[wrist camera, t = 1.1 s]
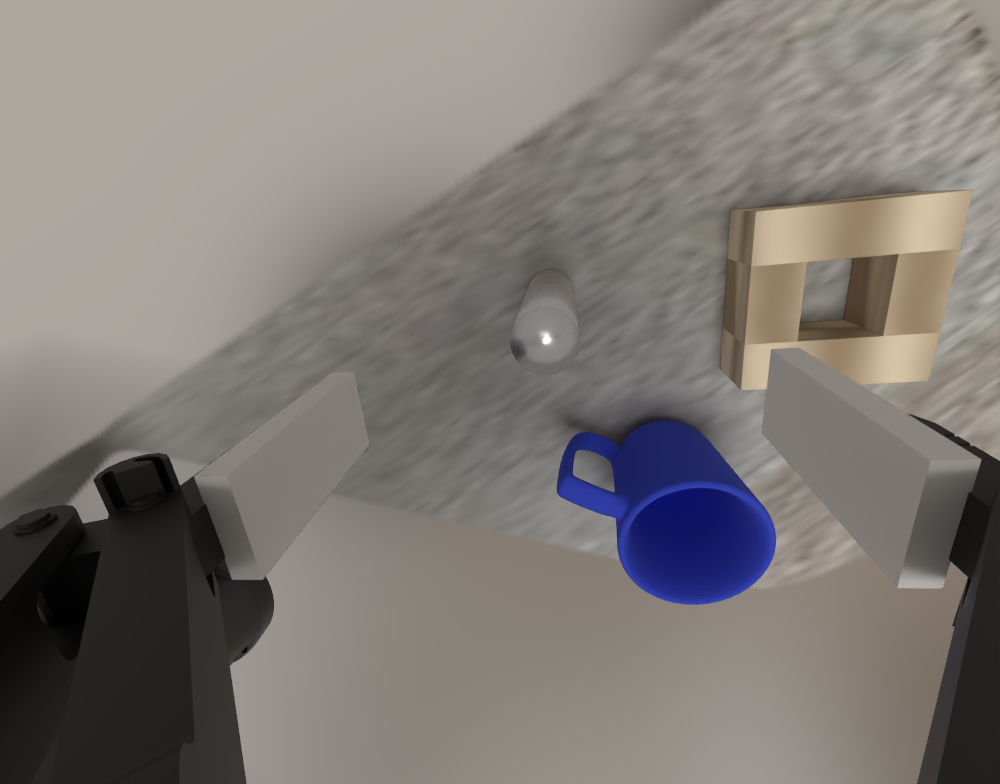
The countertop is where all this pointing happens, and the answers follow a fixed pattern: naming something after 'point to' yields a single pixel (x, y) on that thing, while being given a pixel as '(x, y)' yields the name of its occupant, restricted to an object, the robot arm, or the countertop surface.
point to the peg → (546, 325)
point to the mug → (676, 513)
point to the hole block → (872, 289)
